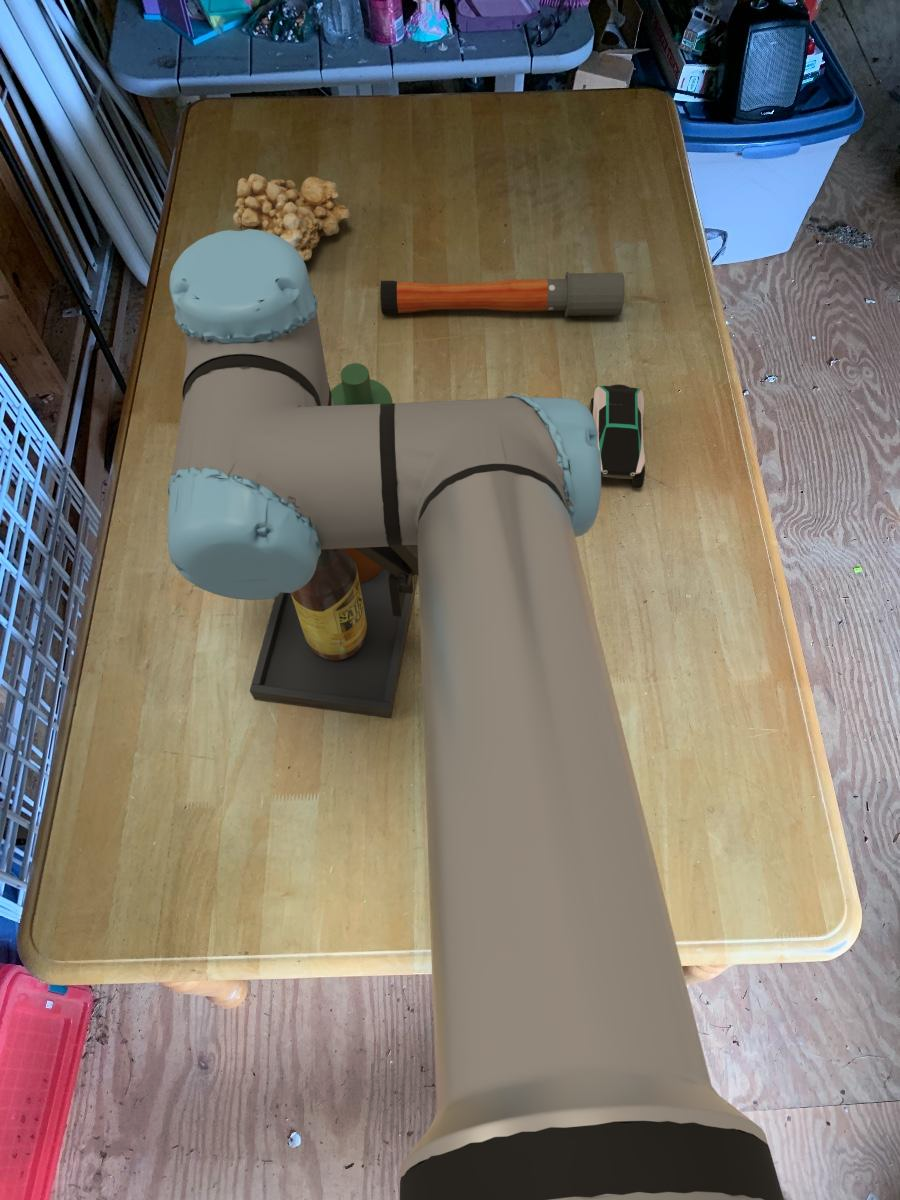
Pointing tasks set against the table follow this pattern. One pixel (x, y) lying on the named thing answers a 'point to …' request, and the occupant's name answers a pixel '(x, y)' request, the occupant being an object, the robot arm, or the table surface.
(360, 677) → the tray
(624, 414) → the toy car
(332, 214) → the mineral formation
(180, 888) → the table surface
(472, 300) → the stick grenade
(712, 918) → the table surface
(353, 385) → the green bottle
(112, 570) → the table surface
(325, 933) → the table surface
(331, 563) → the sauce bottle
